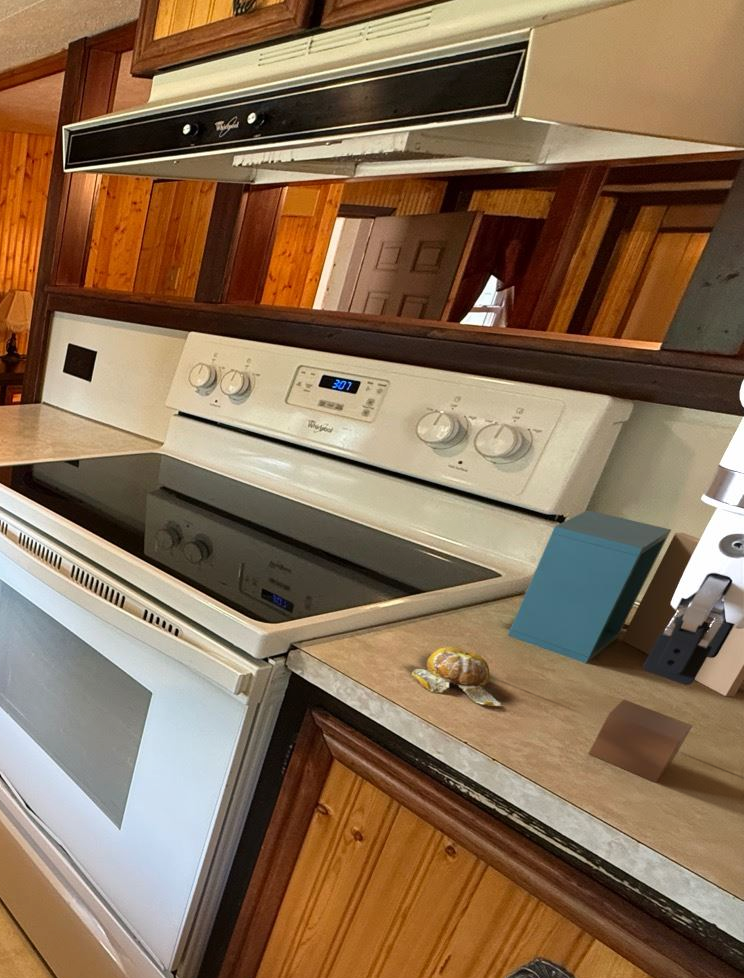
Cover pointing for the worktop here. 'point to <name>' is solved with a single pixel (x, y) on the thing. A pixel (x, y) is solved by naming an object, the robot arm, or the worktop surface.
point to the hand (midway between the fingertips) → (679, 663)
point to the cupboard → (587, 584)
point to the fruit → (457, 674)
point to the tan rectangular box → (654, 613)
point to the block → (639, 740)
